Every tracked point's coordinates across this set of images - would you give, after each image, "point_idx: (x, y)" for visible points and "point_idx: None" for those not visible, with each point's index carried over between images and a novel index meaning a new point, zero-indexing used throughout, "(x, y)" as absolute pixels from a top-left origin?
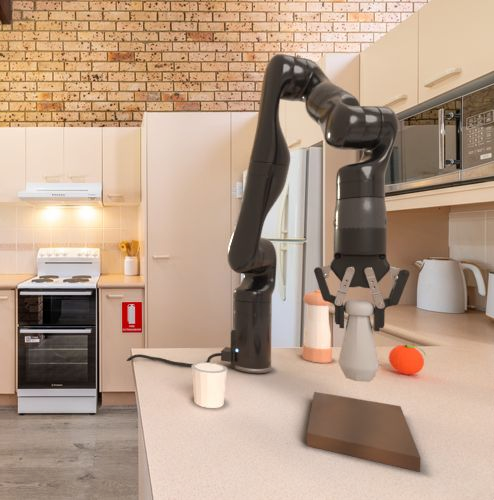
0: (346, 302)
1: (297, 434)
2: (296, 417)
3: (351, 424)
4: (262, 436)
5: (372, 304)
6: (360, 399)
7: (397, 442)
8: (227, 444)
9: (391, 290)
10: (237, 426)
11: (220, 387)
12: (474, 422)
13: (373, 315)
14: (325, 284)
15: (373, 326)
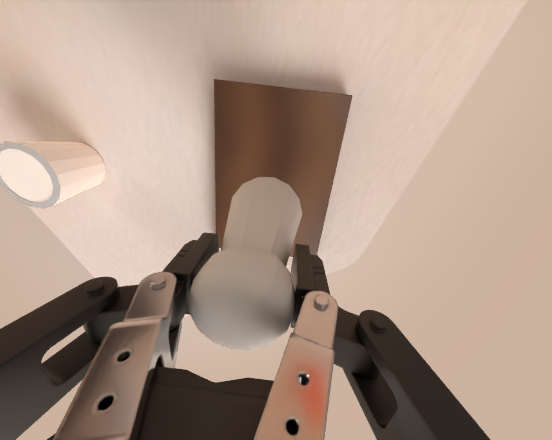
0: (193, 319)
1: (209, 218)
2: (202, 168)
3: None
4: (177, 236)
5: (286, 329)
6: (291, 89)
7: (303, 236)
8: (154, 262)
9: (390, 385)
10: (147, 223)
11: (81, 186)
12: (467, 63)
13: (296, 267)
14: (43, 409)
15: (295, 250)
